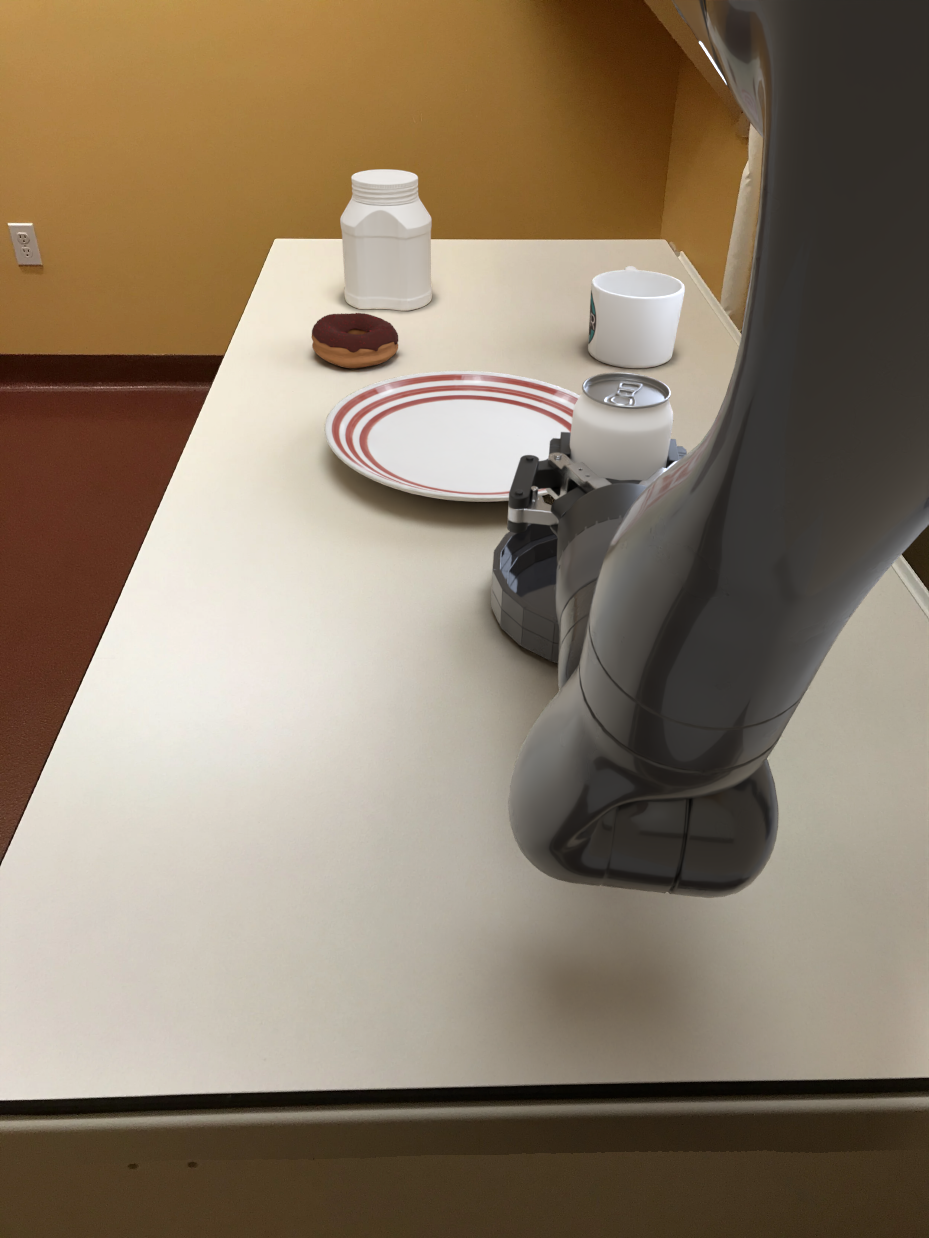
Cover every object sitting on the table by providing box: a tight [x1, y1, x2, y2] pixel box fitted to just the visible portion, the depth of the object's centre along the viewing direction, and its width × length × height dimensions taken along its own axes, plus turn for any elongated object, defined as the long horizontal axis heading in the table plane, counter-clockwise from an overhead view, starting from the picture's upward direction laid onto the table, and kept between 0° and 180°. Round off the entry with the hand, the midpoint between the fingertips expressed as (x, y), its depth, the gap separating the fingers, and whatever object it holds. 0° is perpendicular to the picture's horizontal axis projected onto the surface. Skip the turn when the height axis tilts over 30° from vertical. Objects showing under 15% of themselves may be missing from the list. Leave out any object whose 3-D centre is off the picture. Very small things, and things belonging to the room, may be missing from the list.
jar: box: [339, 168, 433, 312], centre depth 123 cm, size 12×10×15 cm
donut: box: [311, 312, 399, 369], centre depth 109 cm, size 10×10×4 cm
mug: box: [587, 265, 686, 369], centre depth 111 cm, size 13×10×8 cm
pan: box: [490, 523, 559, 664], centre depth 70 cm, size 16×16×4 cm
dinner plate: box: [324, 370, 581, 503], centre depth 90 cm, size 27×27×3 cm
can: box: [570, 371, 674, 481], centre depth 64 cm, size 6×6×12 cm
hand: (615, 448), depth 66 cm, fingers closed on can, 6 cm apart
